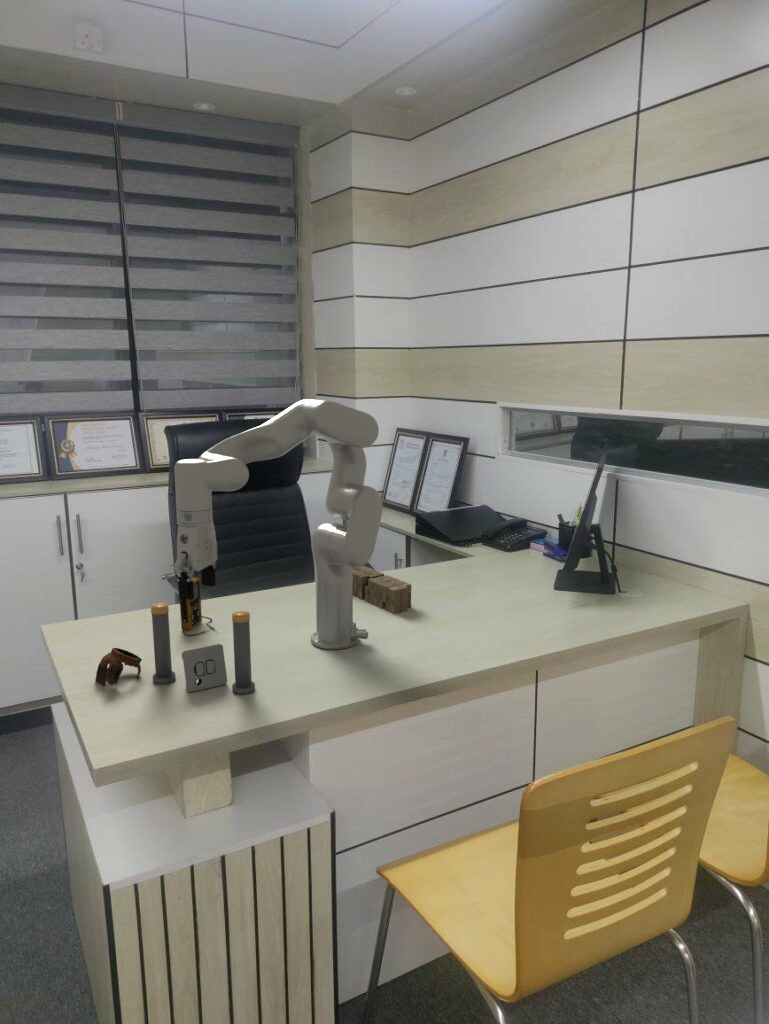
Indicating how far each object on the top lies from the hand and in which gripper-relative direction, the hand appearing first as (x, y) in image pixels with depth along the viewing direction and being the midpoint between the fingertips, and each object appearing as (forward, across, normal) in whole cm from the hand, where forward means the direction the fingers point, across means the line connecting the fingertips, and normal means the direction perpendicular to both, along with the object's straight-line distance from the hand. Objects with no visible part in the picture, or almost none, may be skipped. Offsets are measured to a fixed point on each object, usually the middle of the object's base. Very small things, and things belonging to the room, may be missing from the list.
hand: (198, 591), depth 164 cm
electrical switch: (+22, 0, 0) cm, 23 cm away
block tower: (+22, +69, -22) cm, 76 cm away
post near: (+22, 0, -10) cm, 24 cm away
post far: (+22, 0, +10) cm, 24 cm away
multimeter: (+22, +33, +17) cm, 44 cm away
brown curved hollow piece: (+23, -3, +20) cm, 30 cm away
